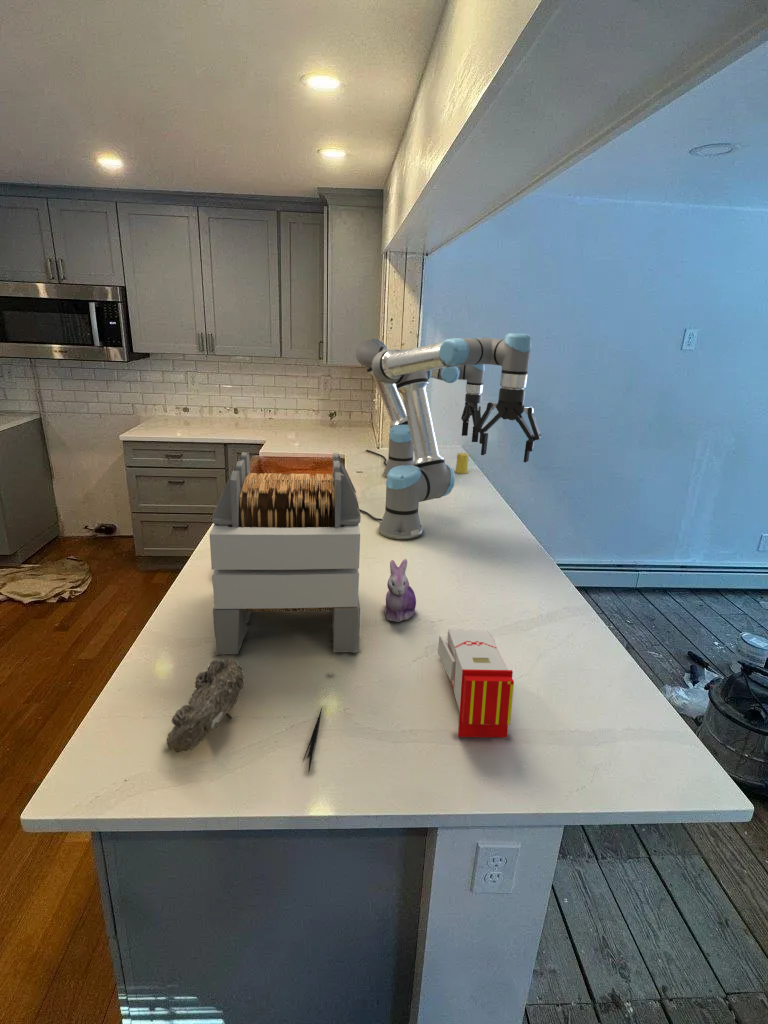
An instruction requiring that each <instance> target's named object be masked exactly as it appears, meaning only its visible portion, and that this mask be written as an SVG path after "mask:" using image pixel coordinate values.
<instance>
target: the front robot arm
mask: <svg viewBox="0 0 768 1024" xmlns="http://www.w3.org/2000/svg"><path fill="white" fill-rule="evenodd" d="M531 352H532V336H531V334H528V333H517V332H515V333H514V332H509V333H506V334H505V338H504V339H499V338H493V337H492V338H491V337H476V338H472V337H471V338H464V337H463V338H462V337H461V338H460V337H451V338H447V339H445V340H443V341H441V342H437V343H431V344H426V345H421V346H418V347H413V348H407V349H401V348H400V349H387V350H383V351H381V352H379V353H378V354H377V355H376V356H375V357H374V359H373V361H372V371H373V374H374V376H375V377H376V378H377V379H378V380H379V381H381V382H383V383H387V384H396V387H397V391H398V392H399V394H400V395H402V401H403V404H404V407H405V410H406V415H407V420H408V425H409V430H410V434H411V439H412V444H413V449H414V452H413V455H414V459H415V460H414V461H413V465H406V466H404V465H401V466H397V467H394V468H392V469H391V470H389V472H388V474H387V478H386V479H385V504H384V505H385V507H384V508H385V509H384V513H383V515H382V518H380V517H379V518H378V517H375V516H373V515H372V514H371V513H369V512H367V511H365V510H363V509H360V508H359V511H360V513H364V514H365V515H367V516H369V517H370V518H371V519H373V520H375V521H379V526H378V533H379V534H380V535H381V536H382V537H385V538H387V539H389V540H395V541H410V540H415V539H418V538H420V537H421V536H422V535H423V525H422V524H421V518H420V515H419V507H420V506H419V505H420V503H421V502H426V501H430V500H435V499H441V498H442V497H446V496H448V495H449V494H450V493H451V492H452V491H453V489H454V487H455V482H456V476H455V471H454V469H453V468H451V466H450V465H449V464H447V463H446V461H445V458H444V457H443V456H442V455H440V452H439V449H438V448H439V447H438V443H437V439H436V433H435V429H434V423H433V418H432V414H431V408H430V403H429V399H428V394H427V388H428V386H429V384H430V382H429V380H430V379H431V378H430V377H431V375H432V374H431V372H432V370H434V369H440V368H446V367H453V366H460V365H480V364H485V365H494V366H501V373H500V380H499V381H500V383H499V386H500V388H499V391H498V399H497V402H494V401H489V402H488V403H487V404H486V408H485V410H484V412H483V414H482V415H481V419H480V420H479V422H478V424H477V425H476V427H475V431H478V432H479V439H478V442H479V445H481V450H480V456H485V455H486V454H487V449H488V441H489V433H488V430H490V429H491V428H492V427H493V426H494V425H495V424H496V423H497V422H499V420H500V419H503V420H509V421H516V423H518V425H519V426H520V428H521V430H522V431H523V433H524V435H525V436H526V438H527V440H526V441H525V447H524V454H523V455H524V456H523V463H528V462H529V460H530V452H533V451H534V447H535V441H539V440H540V439H542V433H541V431H540V427H539V425H538V421H537V419H536V415H535V407H534V406H525V397H526V389H525V388H526V387H527V382H528V381H527V380H528V370H529V363H530V357H531ZM495 408H496V410H497V412H498V413H497V414H495V416H493V418H492V419H491V420H490V421H488V422H487V420H488V418H489V417H490V415H491V413H492V412H493V410H495ZM524 412H525V414H526V415H527V418H528V421H529V425H530V426H529V425H528V423H527V421H526V420H525V418H524V416H523V415H522V414H523V413H524ZM486 422H487V424H486V425H485V423H486ZM530 427H531V428H530Z"/></svg>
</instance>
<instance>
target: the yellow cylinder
mask: <svg viewBox="0 0 768 1024" xmlns="http://www.w3.org/2000/svg"><path fill="white" fill-rule="evenodd" d="M455 464H456V465H455V474H456V473H457V474H462V475H464V474H467V473H468V465H469V453H467V452H457V455H456V463H455Z"/></svg>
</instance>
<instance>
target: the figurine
mask: <svg viewBox="0 0 768 1024" xmlns="http://www.w3.org/2000/svg"><path fill="white" fill-rule="evenodd" d="M407 567H408V559H406V558H404V559H403V560H402V561H401V563H400V565H399V566H398V565H397V563H396V562H395V561H394V560H393V559H391V560H390V561H389V570H390V576H389V578H388V579H387V589H388V591H387V592H386V594H385V595H386V596H385V607H384V615H385V616H386V620H387V621H391V622H395V623H400V622H402V621H406V620H409V619H410V618H411V617H413V616H414V615H415V610H416V606H417V597H416V593H415V591H414V590H413V587H411V586H410V582H409V579H408V577H407V574H406V571H407Z"/></svg>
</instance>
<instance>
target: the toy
mask: <svg viewBox="0 0 768 1024" xmlns="http://www.w3.org/2000/svg"><path fill="white" fill-rule="evenodd" d="M446 640H447V643H446V641H445V639H444V636H443V635H442V634H439V637H438V646H437V656H438V657H439V659H440V661H441V663H442V666H443V668H444V670H445V672H446V674H447V677H448V679H449V681H450V684H451V687H452V690H453V693H454V697H455V701H456V705H457V708H458V711H459V714H458V715H459V716H458V730H457V731H458V732H457V737H458V738H508V731H509V726H510V725H511V717H512V707H513V697H514V696H513V695H514V684H515V680H514V679H513V673H514V671H513V670H512V669H508V667H507V665H506V662H505V661H504V659H503V658H502V655H501V653H500V651H499V649H498V647H497V643H496V639H495V637H494V635H493V634H491V632H490V631H489V629H467V628H466V629H465V628H463V629H461V628H460V629H459V628H448V630H447V639H446Z"/></svg>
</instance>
